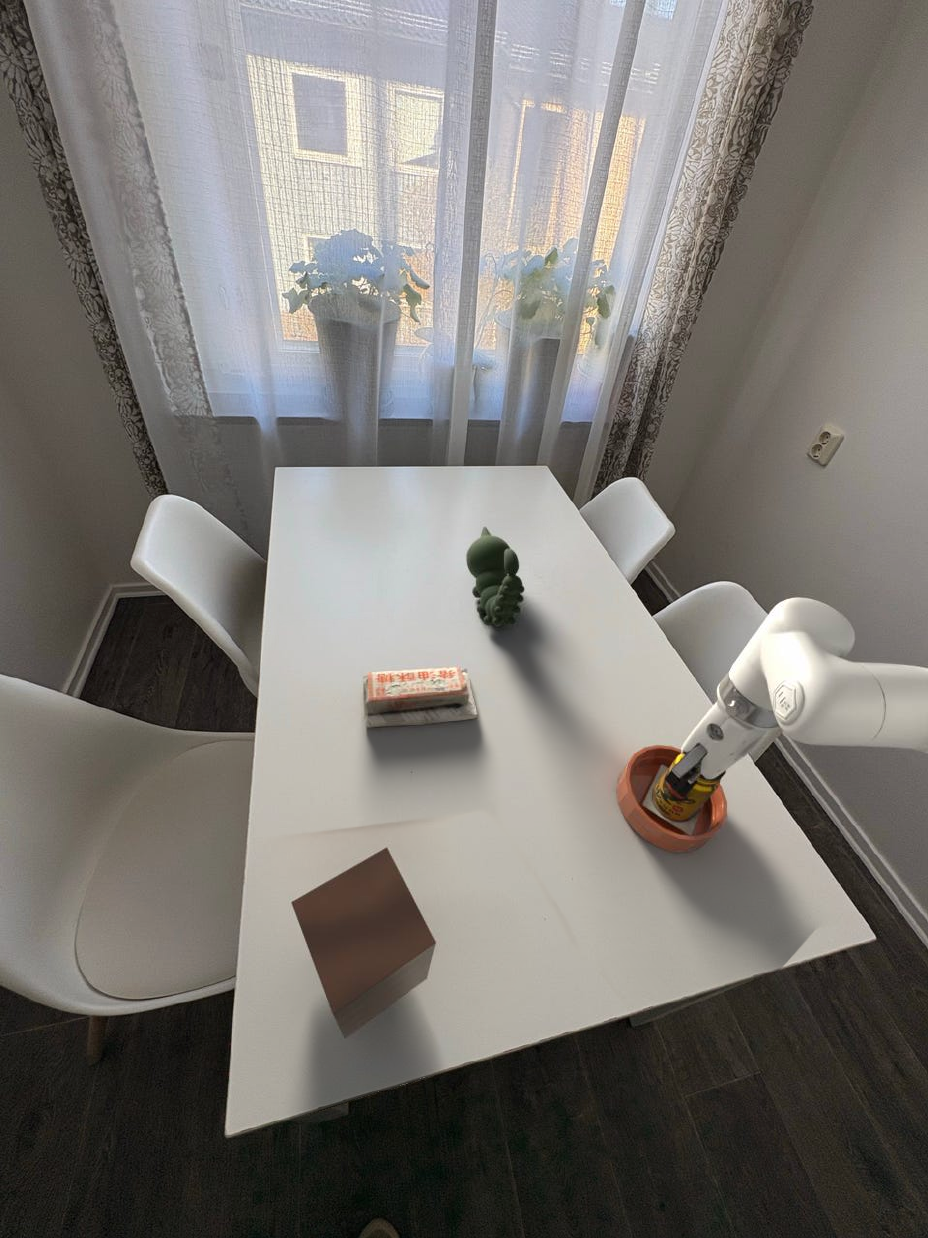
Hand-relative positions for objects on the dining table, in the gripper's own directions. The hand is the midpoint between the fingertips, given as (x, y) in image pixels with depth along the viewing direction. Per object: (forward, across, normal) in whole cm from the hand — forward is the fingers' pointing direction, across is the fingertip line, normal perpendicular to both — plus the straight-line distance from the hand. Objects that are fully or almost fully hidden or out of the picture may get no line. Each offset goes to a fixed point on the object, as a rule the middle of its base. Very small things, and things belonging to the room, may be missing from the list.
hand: (691, 775), depth 70 cm
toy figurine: (+9, +2, +50) cm, 50 cm away
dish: (+9, 0, +1) cm, 9 cm away
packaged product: (+9, -23, +35) cm, 42 cm away
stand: (+10, -46, +5) cm, 47 cm away
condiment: (+8, +1, 0) cm, 8 cm away
